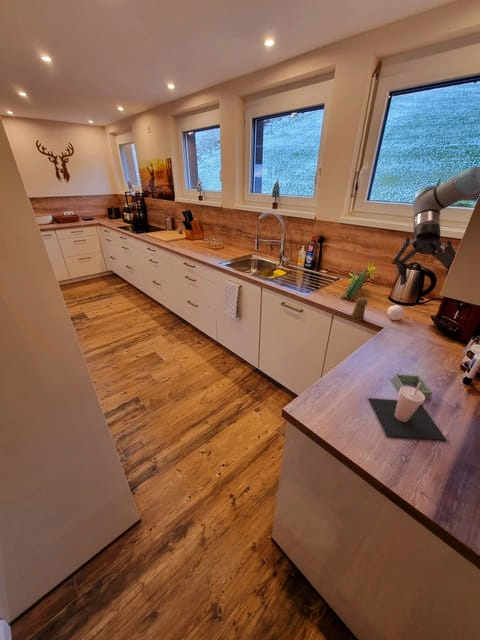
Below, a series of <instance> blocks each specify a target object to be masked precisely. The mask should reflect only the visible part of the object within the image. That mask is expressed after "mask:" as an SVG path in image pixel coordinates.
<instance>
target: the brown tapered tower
mask: <svg viewBox="0 0 480 640" xmlns="http://www.w3.org/2000/svg"><path fill="white" fill-rule="evenodd" d="M367 305H368V299H367V298H365V297H362V296H361V297H357V298H356V300H355V307H354V308H353V311H352V312H351V315H350V317H351V319H352V320H354V321H358V322H361V321H363V320H364V319H365V318H364V317H365V309H366V306H367Z"/></svg>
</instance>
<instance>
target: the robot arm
mask: <svg viewBox="0 0 480 640" xmlns="http://www.w3.org/2000/svg"><path fill="white" fill-rule="evenodd" d="M479 195H480V167H479V166H472V167H471V166H470V167H469V168H467V169H466V170H463V171H461V172H460V173H458V174H456V175H455V176H453V177H451V178H450V179H448V180H447V181H445V182H444V183H441V184H440V185H439V186H437V185H427V186H425V187H424V186H423V187H422V188H420V189H418V190H417V191H416V193H415V194H414V199H413V204H412V205H413V229H412V230H413V232H412V239H411V238H410V237H406V238H405V239H404V241H403V242H402V246H401V248H400V249H399V251H398V252H397V254H396V256H395V257H394V259H392V261H391V264H392V265H396V268H397V274H398V275H399V276H400V283H399V284H400V286H403V285H405V284H406V283H407V280H408V278H407V276H408V263H407V262H408V261H409V260H410V259H411V258H412V257H413V256H415V255H417V253H418V254H419V255H427V256H432V257H433V258H436V259H437V261H439V263H441V265H443V266H444V268H446V270H445V277H446V276H447V274H448V271H449V268H450V266H451V264H452V261H453V259H454V257H455V254H457V252H456V250H455V249H454V248H453V244H452V241H451V240H447V241H446V242H442V241H441V211H442V210H444V209H446V208H448V207H450V206H453V205H455V204H457V203H459V202H461V201H462V202H463V201H464V202H465V201H466V202H467V201H469V202H470V201H473V202H477V199H478V197H479ZM410 246H412V247H413V248H414V249H413V250H411V251H410V252H409V253H408V254H407V255H405V256H404V257H403V258H402V259H401V257H402V256H403V254H404V253H405V252H406V250H407V248H408V247H410Z"/></svg>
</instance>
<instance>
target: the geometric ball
mask: <svg viewBox="0 0 480 640" xmlns="http://www.w3.org/2000/svg"><path fill="white" fill-rule="evenodd" d="M405 310H406V309H404V308H403V307H402V305H398V304H394V305H391V306H389V308H388V309H387V311H386V312H387V317H388V318H389V319H390V320H393V321H399V320H402V319H403V318H404V317H405V314H406V313H405Z"/></svg>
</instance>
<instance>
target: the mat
mask: <svg viewBox="0 0 480 640" xmlns="http://www.w3.org/2000/svg"><path fill="white" fill-rule="evenodd" d="M368 400H369V402H370V405H371V406H372V408H373V410H374V412H375V414H376V417H377V419H378V420H379V422H380V424H381V426H382V429H383V430H384V432H385V434H386V436H387V437H388V438H390V437H391V438H402V439H416V440H417V439H418V440H431V441H444V442H446V441H447V439H446V437H445V436H444V434H443V433H442V432H441V430H440V429H439V427H438V426H437V424H436V423H435V422H434V420H433V419H432V418H431V415H430V414H429V413H428V412H427V410H426V409H425V408H424V406H423V405H422V404H420V406H419V407H418V408H417V410H416V411H415V412H414V413H413V415H412V416H411V417H410V419H409V420H408V421H407V422H402V421H399V420H398V419H397V418H396V417H395V410H396V406H397V402H398V399H381V398H368Z"/></svg>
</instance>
